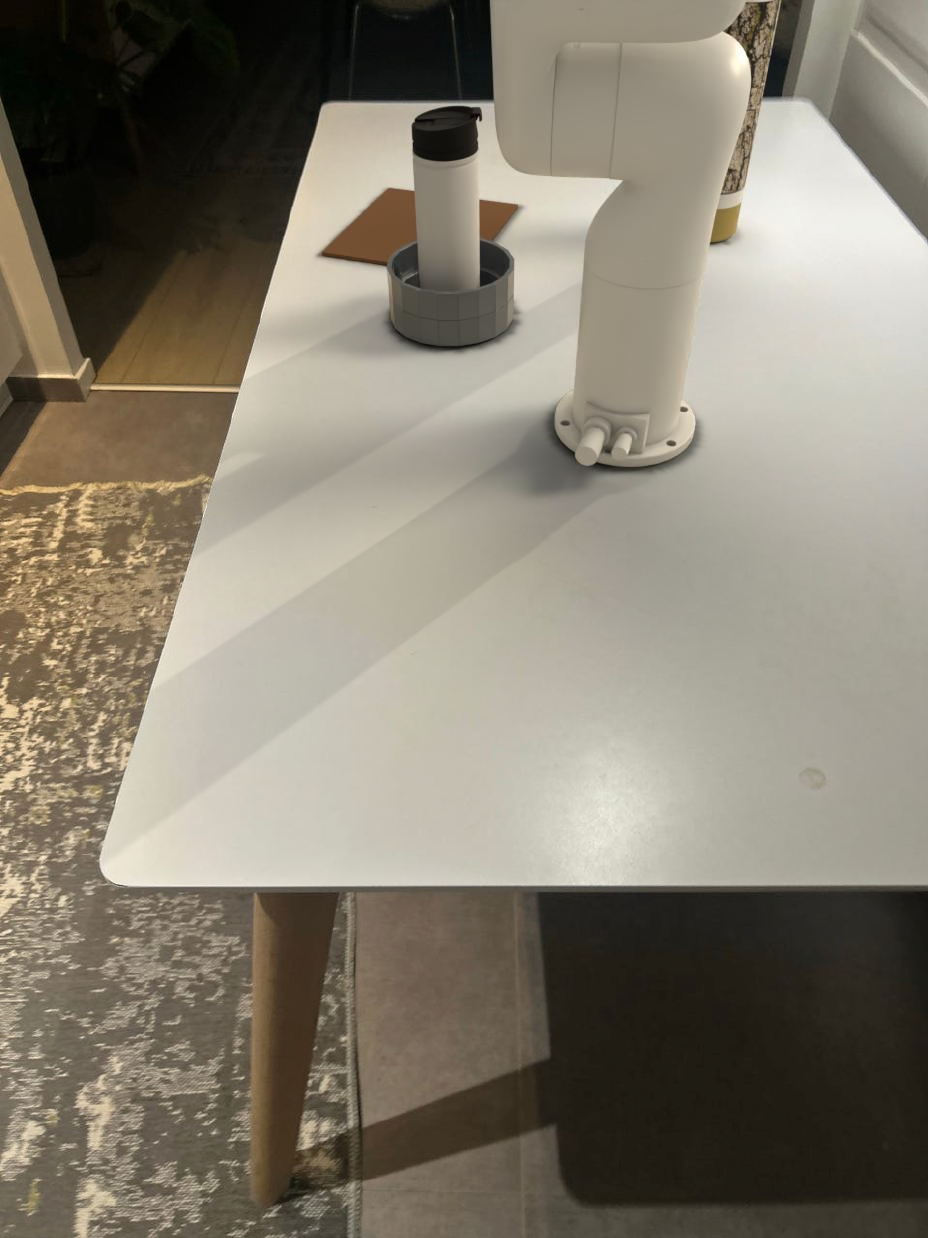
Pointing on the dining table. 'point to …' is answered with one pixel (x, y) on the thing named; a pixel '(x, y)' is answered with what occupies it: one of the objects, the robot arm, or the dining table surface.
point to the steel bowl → (452, 300)
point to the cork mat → (401, 227)
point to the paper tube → (756, 40)
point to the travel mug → (447, 197)
